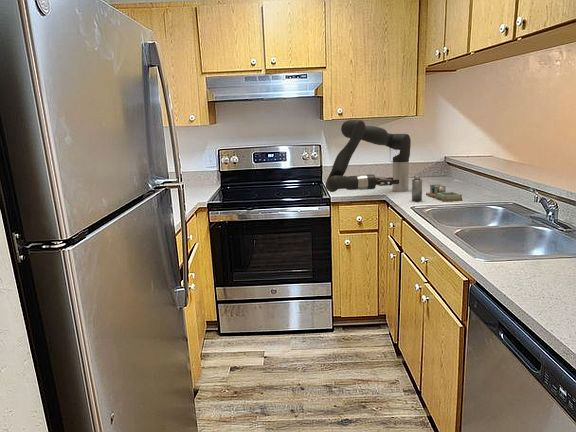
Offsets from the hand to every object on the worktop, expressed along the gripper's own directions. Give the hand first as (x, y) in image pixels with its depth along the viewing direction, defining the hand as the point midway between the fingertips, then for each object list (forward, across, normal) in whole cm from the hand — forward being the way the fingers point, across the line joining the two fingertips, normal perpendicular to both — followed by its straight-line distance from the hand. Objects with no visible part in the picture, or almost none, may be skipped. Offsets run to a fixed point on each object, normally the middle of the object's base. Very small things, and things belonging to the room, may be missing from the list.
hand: (395, 180), depth 229 cm
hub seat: (+27, -3, +10) cm, 29 cm away
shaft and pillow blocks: (+27, +10, +10) cm, 31 cm away
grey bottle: (+12, 0, +11) cm, 16 cm away
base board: (+28, +3, +11) cm, 30 cm away
